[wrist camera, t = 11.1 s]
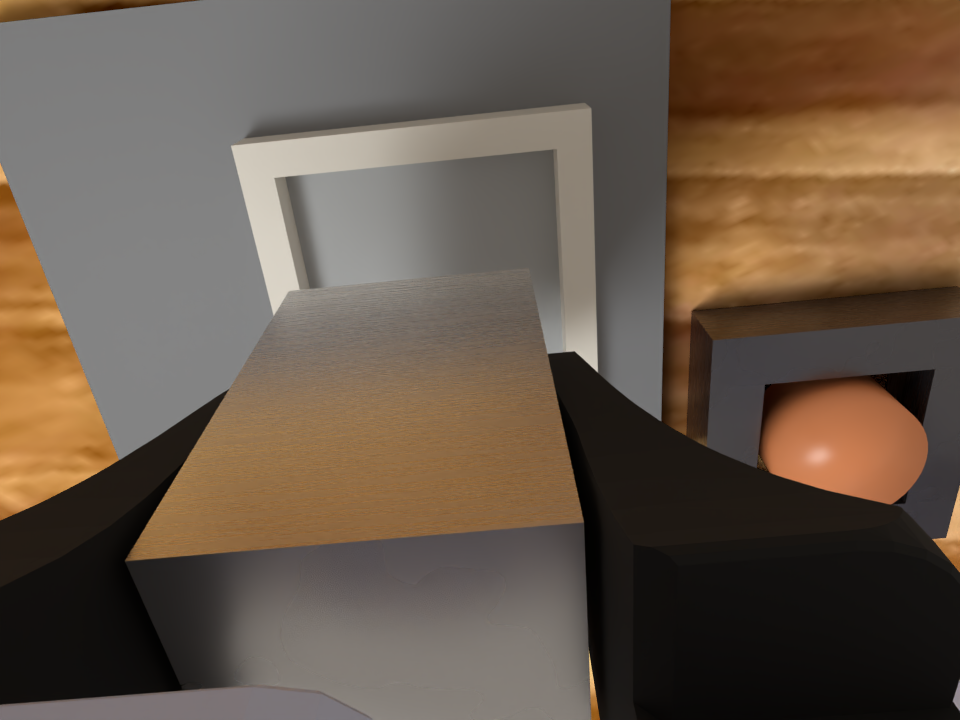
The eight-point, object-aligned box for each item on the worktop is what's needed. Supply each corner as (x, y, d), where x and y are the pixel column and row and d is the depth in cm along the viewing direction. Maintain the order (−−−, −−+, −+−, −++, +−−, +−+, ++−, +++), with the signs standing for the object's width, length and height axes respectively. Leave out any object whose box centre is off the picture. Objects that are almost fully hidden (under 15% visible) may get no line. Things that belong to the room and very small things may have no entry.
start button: (892, 355, 20) (941, 395, 18) (871, 466, 22) (913, 515, 20) (754, 367, 21) (788, 409, 18) (745, 477, 22) (773, 526, 20)
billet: (529, 267, 13) (583, 522, 7) (542, 464, 15) (593, 797, 9) (289, 291, 13) (125, 560, 7) (335, 482, 15) (242, 823, 9)
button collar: (957, 286, 20) (1004, 313, 18) (909, 497, 23) (945, 537, 22) (691, 311, 20) (712, 340, 18) (683, 516, 24) (700, 557, 22)
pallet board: (655, -48, 16) (684, -57, 14) (648, 451, 22) (668, 500, 20) (-12, 27, 17) (-86, 30, 15) (163, 493, 23) (130, 545, 21)
